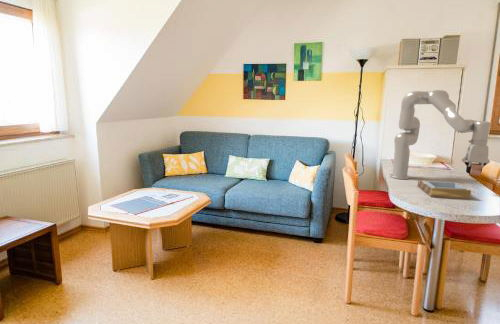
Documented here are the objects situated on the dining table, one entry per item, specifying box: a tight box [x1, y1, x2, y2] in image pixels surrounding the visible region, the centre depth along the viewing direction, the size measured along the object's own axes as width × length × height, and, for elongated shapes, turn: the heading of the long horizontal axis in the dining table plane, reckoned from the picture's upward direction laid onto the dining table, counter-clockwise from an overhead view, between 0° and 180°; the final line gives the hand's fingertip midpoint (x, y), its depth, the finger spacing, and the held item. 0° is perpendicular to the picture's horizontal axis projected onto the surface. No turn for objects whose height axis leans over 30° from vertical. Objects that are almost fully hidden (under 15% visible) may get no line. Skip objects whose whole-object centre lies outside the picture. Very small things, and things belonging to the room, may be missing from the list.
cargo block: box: [467, 162, 483, 176], centre depth 189 cm, size 5×5×6 cm
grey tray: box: [425, 180, 468, 190], centre depth 187 cm, size 14×17×4 cm
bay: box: [416, 180, 472, 200], centre depth 191 cm, size 23×20×5 cm
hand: (473, 173), depth 190 cm, fingers closed on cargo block, 5 cm apart
